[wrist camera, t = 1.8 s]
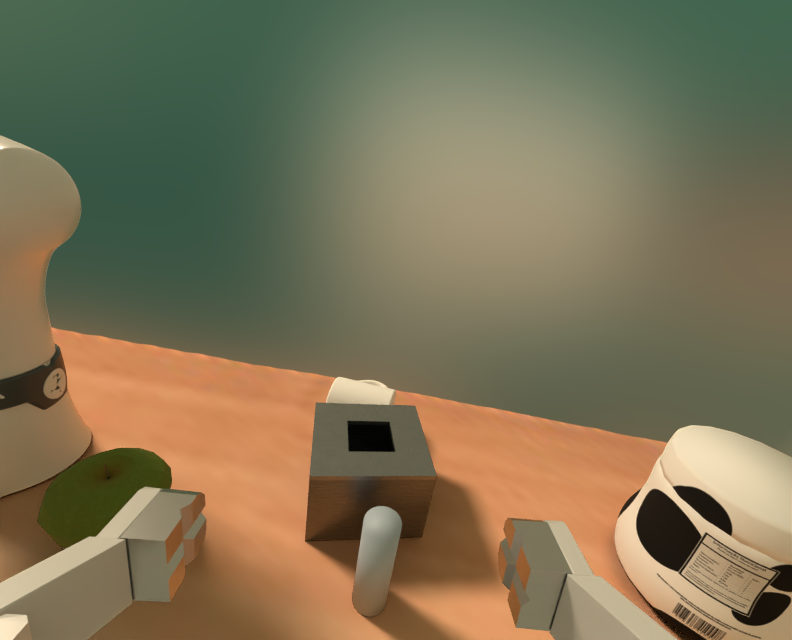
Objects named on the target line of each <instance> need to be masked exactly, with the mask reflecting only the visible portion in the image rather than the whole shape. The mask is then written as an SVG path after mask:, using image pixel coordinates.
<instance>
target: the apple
mask: <svg viewBox="0 0 792 640" xmlns="http://www.w3.org/2000/svg"><path fill="white" fill-rule="evenodd" d="M171 483H172V477H171V468H170V467H169V466H168V465H167V463H166V462H165V461H164V460H163V459H162V458H160V457H159V456H158V455H156V454H155V453H154V452H150V451H147V450H144V449H140V448H117V449H113V450H109V451H105V452H101V453H99V454H96V455H94V456H91V457H89V458H86V459H84V460H82V461H79V462H77V463H76V464H74V465H73V466H71V467H69V468H68V469H66V470H65V471H63V472H62V473H60V474H59V475H58V476H57V477H56V479H55V480H54V481H53V482H52V484H51V485H50V486H49V488H48V489H47V490H46V493H45V496H44V498H43V501H42V504H41V508H40V512H39V516H38V520H37V522H38V523H39V524H40V525H41V526H42V528H43V529H44V530H45V531H46V532H47V533H48V534H49V535H50V536H51V537H52V538H53V539H54V540H55V541H56V542H57V543H58V544H59V545H60V546H61V547H63V548H68V547H70V546H72V545H74V544H76V543H78V542H80V541H82V540H84V539H86V538H88V537H96V536H97V535H98V534H99V533H100V532H101V531H102V530H103V528H104V527H105V526H106V525H107V524H108V523H109V522H110V521H111V520H112V519H113V518H114V517H115V515H116V514H117V513H118V512H119V511H120V510H121V509H122V508H123V507H124V506H125V505H126V504H127V502H128V501H129V500H130V499H131V498H132V497H133V496H134V495H135V494H136V493H137V492H138V491H139V490H140V489H142V488H144V487H152V488H160V489H170V487H171Z"/></svg>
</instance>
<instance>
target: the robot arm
mask: <svg viewBox="0 0 792 640" xmlns="http://www.w3.org/2000/svg"><path fill="white" fill-rule="evenodd" d="M80 215H81V201H80V196H79V193H78V190H77V187H76V185H75V183H74V181H73V180H72V178H71V177H70V175H69V174H68V173H67V172H66V170H65V169H64V168H63V167H62V166H61V165H60V164H58V163H57V162H56V161H54V160H53V159H51V158H50V157H48V156H47V155H44V154H43V153H40V152H38V151H36V150H34V149H32V148H30V147H27V146H25V145H23V144H20V143H18V142H15V141H13V140H10V139H7V138H5V137H3V136H0V497H3V496H5V495H8V494H11V493H14V492H17V491H20V490H23V489H26V488H29V487H31V486H34V485H36V484H38V483H41V482H43V481H45V480H47V479H49V478H51V477H53V476H55V475H56V474H58V473H60V472H61V471H63V470H64V469H66V468H67V467H69V466H70V465H71V464H73V463H74V462H75V461H76V460H77V459H78V458H80V457H81V456H82V454H83V453H84V452H85V451H86V449H87V448H88V446H89V444H90V442H91V438H92V434H91V431H90V429H89V427H88V426H87V425H86V424H85V422H84V421H83V419H82V418H81V416H80V415H79V413H78V411H77V409H76V407H75V405H74V403H73V401H72V399H71V397H70V395H69V392H68V389H67V376H66V370H65V366H64V361H63V358H62V354H61V351H60V348H59V346H57V345H56V344H55V343H54V340H53V335H52V330H51V326H50V321H49V316H48V311H47V306H46V300H45V278H46V272H47V267H48V264H49V260H50V258H51V255H52V253H53V251H54V250H55V249H56V248H57V247H58V246H60V245H61V244H63V243H64V242H65V241H66V240H68V238H69V237H70V236H71V235H72V234H73V232H74V231H75V229H76V228H77V225H78V222H79V220H80ZM205 505H206V504H205V494H203V493H201V492H192V491H183V490H174V489H160V488H152V487H144V488H142V489H140V490H139V491H138V492H137V493H136V494H135V495H134V496H133V497H132V498H131V499H130V500H129V501H128V502H127V504H126V505H125V506H124V507H123V508H122V509H121V510H120V511H119V512H118V513H117V514H116V515H115V517H114V518H113V519H112V520H111V521H110V522H109V523H108V524H107V525H106V526H105V527H104V528H103V530H102V531H101V532H100V533H99V534H98V535H97V536H96V537H88V538H86V539H84V540H82V541H80V542H78V543H76V544H74V545H72V546H70V547H68V548H66V549H64V550H62V551H61V552H59V553H57V554H55V555H53V556H51V557H49V558H47V559H45V560H43V561H41V562H39V563H37V564H35V565H33V566H32V567H30V568H28V569H26V570H24V571H22V572H20V573H18V574H16V575H14V576H12V577H10V578H8V579H6V580H5V581H3V582H1V583H0V640H88V639H89V638H90V637H92V636H93V635H94V634H95V633H96V632H98V631H99V630H100V629H101V628H103V627H104V626H105V625H106V624H107V623H109V622H110V621H111V620H112V619H114V618H115V617H116V616H117V615H119V614H120V613H121V612H122V611H123V610H125V609H126V608H127V607H128V606H130V605H131V604H132V603H133V601H155V602H170V601H171V600H172V598H173V596H174V595H175V593H176V591H177V589H178V588H179V586H180V584H181V582H182V581H183V579H184V577H185V566H186V565H187V564H189V563H190V562H192V561H193V560H194V559H195V558H196V556H197V554H198V553H199V551H200V549H201V546H202V543H203V540H204V537H205V533H206V518H205V517H204V516H203V514H202V513H201V511H202V510H203V508H204V507H205ZM503 530H504V533H505V536H506V538H505V539H504V540H503V541H501V542H500V547H499V552H498V564H499V571H500V575H501V579H502V583H503V584H504V585H505V586H506V587H507V588H508V589H509V590H510V592H509V596H508V603H509V607H510V610H511V613H512V617H513V620H514V623H515V627H516V628H525V629H535V630H544V631H550V634H551V635H552V636H553V638H554V639H555V640H677V639H676V638H675V637H674V636H672V635H671V634H670V633H669V632H668V631H666V630H665V629H664V628H663V627H661V626H660V625H659V624H658V623H657V622H655V621H654V620H653V619H652V618H650V617H649V616H648V615H647V614H646V613H644V612H643V611H642V610H641V609H639V608H638V607H637V606H636V605H635V604H633V603H632V602H631V601H630V600H628V599H627V598H626V597H625V596H624V595H622V594H621V593H620V592H619V591H618V590H616V589H615V588H614V587H613V586H611V585H610V584H609V583H608V582H607V581H605V580H604V579H603V578H602V577H600V576H595V575H594V574H593V572H592V570H591V568H590V566H589V565H588V563H587V561H586V559H585V558H584V556H583V554H582V552H581V550H580V549H579V547H578V545H577V543H576V541H575V540H574V538H573V536H572V534H571V532H570V531H569V529H568V527H567V525H566V524H565V523H564V522H563V521H548V520H544V521H543V520H531V519H518V518H507V520H506V521H505V525H504V529H503Z"/></svg>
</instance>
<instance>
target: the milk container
mask: <svg viewBox="0 0 792 640" xmlns="http://www.w3.org/2000/svg"><path fill="white" fill-rule="evenodd" d="M615 546H616V551H617V555H618V558H619V561H620V563H621V565H622V567H623V569H624V571H625V573H626V575H627V577H628V578H629V580H630V581H631V583H632V584H633V585H634V587H635V588H636V589H637V590H638V592H639V593H640V594H641V595H642V597H643V598H644V599H645V600H646V601H647V602H648V604H649V605H650V606H651V607H652V608H653V609H655V610H656V611H657V612H658V613H659V614H660V615H661V616H662V617H663V618H665V619H666V620H667V621H668V622H669V623H670V624H672V625H673V626H674V627H675V628H676V629H678V630H679V631H681V632H682V633H684V634H685V635H687V636H688V637H690V638H692V639H693V640H792V458H791V457H790V456H787V455H785V454H783V453H781V452H779V451H777V450H775V449H773V448H771V447H769V446H767V445H765V444H763V443H761V442H758V441H755V440H752V439H750V438H747V437H745V436H742V435H739V434H737V433H734V432H730V431H726V430H722V429H718V428H714V427H710V426H694V425H690V426H687V427H684V428H681V429H679V430H677V431H676V433H675V434H674V435H673V436H672V438H671V439H670V440H669V442H668V443H667V445H666V447H665V449H664V452H663V454H662V455H661V456H660V457H659V458H658V460H657V461H656V464H655V466H654V468H653V470H652V472H651V474H650V476H649V478H648V480H647V482H646V483H645V485H644V486H643V487H642V488H641V489H640V490H639V491H637V492H636V493H635V494H634V495H633V496H631V497H630V498H629V499H628V500H627V502H626V503H625V504H624V506H623V508H622V509H621V511H620V514H619V516H618V520H617V524H616V529H615Z"/></svg>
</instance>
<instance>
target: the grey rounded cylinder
mask: <svg viewBox="0 0 792 640" xmlns="http://www.w3.org/2000/svg"><path fill="white" fill-rule="evenodd" d="M401 529H402V521H401V518H400V516H399V515H398V513H397V512H396V511H394V510H393V509H391V508H389V507H385V506H377V507H374V508H372V509H370V510H369V511H368V512H367V513H366V514H365V516H364V521H363V527H362V534H361V540H360V547H359V553H358V560H357V567H356V573H355V580H354V586H353V593H352V603H353V606H354V608H355V609H356V611H357V612H358V613H360V614H361V615H363V616H367V617H372V616H376V615H378V614H379V613H380V612H381V611H382V610H383V609H384V607H385V605H386V600H387V596H388V591H389V586H390V581H391V576H392V572H393V567H394V562H395V557H396V553H397V548H398V543H399V538H400V534H401Z"/></svg>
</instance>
